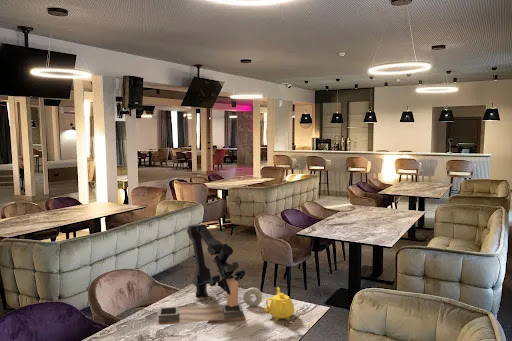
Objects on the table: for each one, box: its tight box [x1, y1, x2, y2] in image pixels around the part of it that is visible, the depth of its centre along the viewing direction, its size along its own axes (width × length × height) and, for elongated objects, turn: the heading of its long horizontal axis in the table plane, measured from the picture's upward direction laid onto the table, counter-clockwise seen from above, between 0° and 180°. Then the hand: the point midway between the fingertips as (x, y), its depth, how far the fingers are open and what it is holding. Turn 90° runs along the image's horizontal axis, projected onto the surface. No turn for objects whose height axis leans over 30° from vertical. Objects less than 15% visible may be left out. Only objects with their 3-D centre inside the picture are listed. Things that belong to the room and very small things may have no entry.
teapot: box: [264, 286, 295, 321], centre depth 204 cm, size 20×15×12 cm
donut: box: [242, 287, 263, 307], centre depth 216 cm, size 10×4×10 cm, turn 89°
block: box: [226, 279, 239, 307], centre depth 202 cm, size 4×4×12 cm
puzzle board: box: [155, 303, 246, 326], centre depth 204 cm, size 17×42×4 cm, turn 100°
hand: (233, 293), depth 201 cm, fingers closed on block, 4 cm apart
